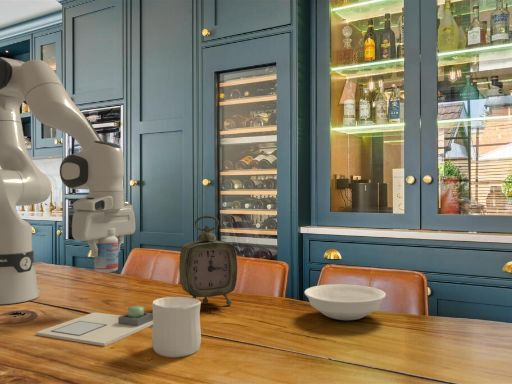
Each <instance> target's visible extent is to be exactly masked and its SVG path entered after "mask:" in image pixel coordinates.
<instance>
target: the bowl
mask: <svg viewBox="0 0 512 384" xmlns="http://www.w3.org/2000/svg"><path fill="white" fill-rule="evenodd" d="M304 295H305V296H306V297H307V299H308V301H309V303H310V306H311V307H312V308H314V309H316V310H317V311H318V312H319V313H321V314H322V315H324V316H326V317H327V318H330V319H334V320H339V321H354V320H355V321H356V320H360V319H362V318H364V317H366V316H368V315H370V314H372V313H374V311H376V310H378V309H379V308H380V306H381V303H382V301H383V300H384V299H385V298H386V296H387V294H386V292H385V291H383V290H382V289H379V288H376V287H372V286H367V285H359V284H348V283H334V284H333V283H332V284H321V285H315V286H311V287H308V288H306V289H305V290H304Z"/></svg>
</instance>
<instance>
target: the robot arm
mask: <svg viewBox="0 0 512 384" xmlns="http://www.w3.org/2000/svg"><path fill="white" fill-rule="evenodd" d="M22 104H24V105H27V107H28V110H29V111H30V112H31V114H32V115H33V117H34V118H35V119H36V120H37V121H38V122H40V123H41V124H42V125H46V126H48V127H50V128H53V129H54V130H59V131H60V132H63V133H65V134H67V135H68V136H70V137H72V138H73V139H74V140H75V141H76V142H77V143H78V144H79V146H80V147H81V149H82V150H81V151H78V152H75V153H73V154H68V155H67V156H65V157H64V158H63V159H62V161H61V163H60V165H59V177H60V179H61V183H63V184H64V185H65V187H67V188H69V189H72V190H73V189H74V190H86V191H87V190H88V195H85V196H84V197H81V198H80V199H77V200H75V201H73V203H72V208H73V210H74V211H75V212H73V215H72V221H71V236H72V238H73V239H74V240H75V241H76V242H77V241H78V242H79V241H80V242H86V241H87V245H88V247H89V248H90V256H91V257H92V258H94V257H97V256H100V252H101V249H98V247H97V245H96V243H98V239H101V238H107V237H108V236H109V235H108V229H114V228H115V234H114V236H115V237H117V239H118V253H120V252H121V246H122V243H123V242H124V236H128V235H129V236H130V235H133V234H135V232H136V218H135V212H134V206H133V205H132V203H130V201H124V199H125V195H124V194H125V192H124V191H125V189H124V186H123V181H124V175H125V162H124V153H123V152H124V151H123V149H122V147H121V146H120V145H119V144H118V143H114V142H110V141H104V140H102V138H101V136H100V135H99V133H98V132H97V131H96V129H95V127H94V126H93V124H92V122H91V121H90V120H89V119H88V117H86V115H85V114H84V112H82V110H80V109H79V108H78V107H77V105H76V104H75V103H74V101H73V99H71V96H70V95H69V94H68V92H67V90H66V88H65V87H64V84H63V83H62V81H61V79H60V78H59V76H58V74H57V73H56V72H55V71H54V69H53V68H52V67H51V65H50V64H48V63H47V62H46V61H44V60H43V59H30V60H27V61H22V60H19V59H12V58H7V57H3V56H2V57H1V56H0V167H1V169H0V305H10V304H17V303H18V304H19V303H24V302H27V301H33V300H34V299H37V298H38V297H39V296H40V295H39V294H41V289H39V288H38V281H37V273H36V272H37V271H36V267H34V265H33V263H34V262H35V254H34V252H35V251H34V250H33V235H32V234H33V232H32V230H33V227H32V226H31V224H30V223H29V222H28V221H27V220H24V219H23V218H21V217H20V215H19V213H18V211H17V207H20V206H33V205H37V204H41V203H43V202H45V201H47V200H48V199H49V197H50V195H51V193H52V182H51V180H50V178H49V177H48V176H47V174H44V173H43V172H42V171H41V170H40V169H39V168H38V167H37V166H36V164H35V163H34V161H33V160H32V158H31V156H30V154H29V151H28V149H27V146H26V142H25V141H26V140H25V136H24V130H23V123H22V119H21V118H22V117H21V112H20V108H21V105H22Z"/></svg>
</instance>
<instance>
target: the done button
mask: <svg viewBox="0 0 512 384" xmlns="http://www.w3.org/2000/svg"><path fill="white" fill-rule="evenodd" d="M144 308H145V307H144V306H142V305H134V306H133V305H132V306H130V307H128V309H127V310H128V312H127V314H128V317H130V318H140V317H142V316H144V312H145V309H144Z"/></svg>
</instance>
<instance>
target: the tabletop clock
mask: <svg viewBox="0 0 512 384" xmlns="http://www.w3.org/2000/svg"><path fill="white" fill-rule="evenodd" d="M202 219H212V220H214V221H215V222H216V225H215V226H214V227H210V226H209V225H205V226H204V228H203V227H198V224H197V223H198V221H200V220H202ZM219 226H220V222H219V220H218V218H217V217H215V216H212V215H203V216H199V217H197V219H195V221H194V227H195V228H196V229H197V230H198V231H203V232H200V234H199V235H198V237H197V241H190V242H187V243H185V244H183V245H182V247H181V249H180V253H179V264H178V270H179V280H180V286H181V287H182V290H183V291H184V292H186V293H187V294H189V295H190V296H192V298H195V299H197V298H203V299H202V304H204V305H206V304H208V303H209V299H208V298H209V297H211V298H212V297H218V296H222V297H224V298H225V300H226V301H225V302H226V305H228V306H231V305H232V304H233V301H232V299H230V298H229V297H228V295H227V294H230V293H232V292H234V290H235V289H236V288H235V287H236V285H237V280H238V260H237V253H236V248H235V245H233V244H230V243H227V242H223V241H220V240H217V236H216V234H214V233H213V232H211V231H214V230H216V229H217V228H218V227H219ZM209 227H210V228H209ZM207 297H208V298H207Z"/></svg>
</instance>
